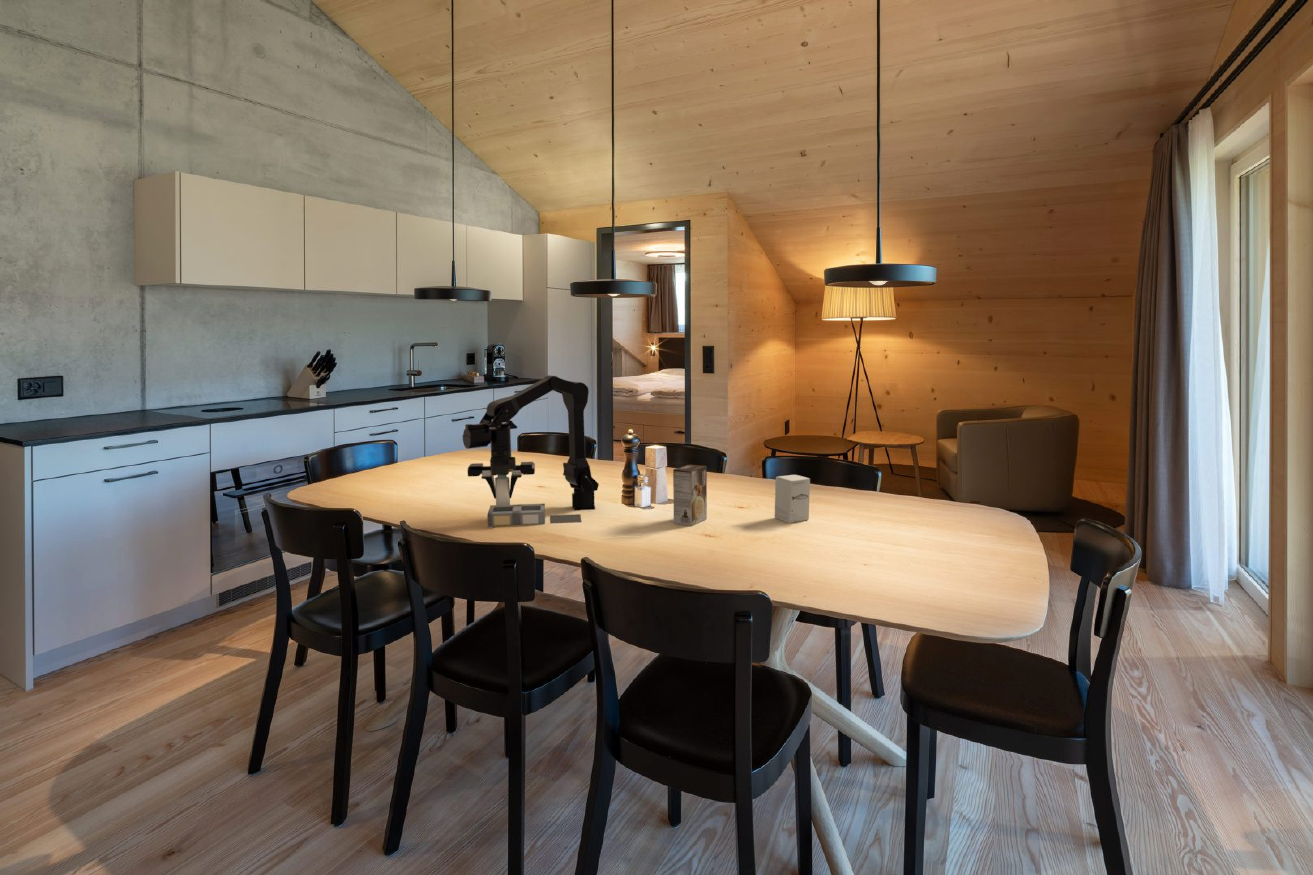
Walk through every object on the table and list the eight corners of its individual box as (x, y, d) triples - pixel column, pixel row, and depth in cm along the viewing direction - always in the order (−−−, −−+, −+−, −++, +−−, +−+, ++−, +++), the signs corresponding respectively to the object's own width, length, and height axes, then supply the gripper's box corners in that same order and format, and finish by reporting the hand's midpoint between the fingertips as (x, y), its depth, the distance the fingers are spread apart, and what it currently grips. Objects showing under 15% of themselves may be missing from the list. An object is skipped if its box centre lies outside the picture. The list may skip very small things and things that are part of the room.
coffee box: (688, 516, 221) (688, 463, 218) (707, 519, 217) (707, 465, 215) (672, 523, 213) (672, 468, 210) (692, 526, 209) (692, 471, 207)
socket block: (545, 516, 221) (544, 503, 221) (544, 525, 211) (544, 512, 210) (490, 518, 219) (490, 505, 218) (487, 527, 209) (487, 514, 208)
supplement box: (789, 523, 212) (790, 480, 210) (773, 517, 219) (774, 476, 217) (809, 520, 215) (810, 478, 214) (793, 514, 222) (794, 473, 220)
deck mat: (580, 515, 222) (580, 514, 222) (581, 523, 213) (581, 522, 213) (550, 516, 221) (550, 515, 221) (550, 524, 212) (550, 523, 212)
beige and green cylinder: (510, 502, 216) (509, 472, 215) (509, 506, 212) (508, 475, 211) (496, 503, 215) (495, 473, 214) (495, 506, 212) (494, 476, 210)
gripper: (464, 450, 202) (466, 506, 204) (532, 448, 205) (534, 503, 207) (468, 444, 213) (471, 496, 215) (534, 442, 215) (535, 494, 218)
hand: (502, 498), depth 214 cm, fingers closed on beige and green cylinder, 4 cm apart
